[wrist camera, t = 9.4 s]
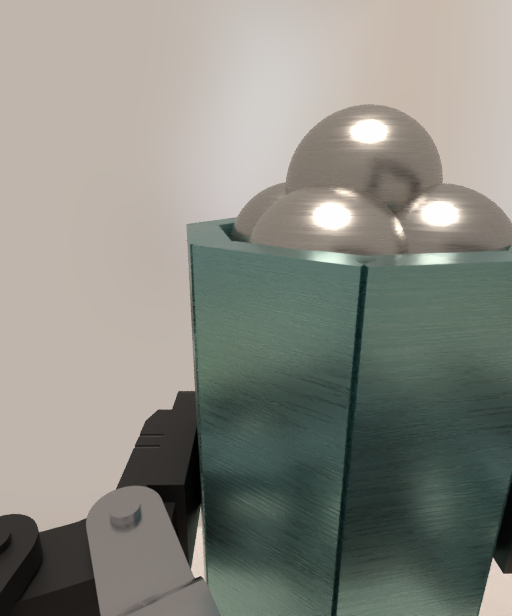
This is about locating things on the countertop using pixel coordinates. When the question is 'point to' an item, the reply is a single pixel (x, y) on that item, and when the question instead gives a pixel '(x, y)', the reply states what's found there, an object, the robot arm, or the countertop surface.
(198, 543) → the countertop surface
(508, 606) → the countertop surface
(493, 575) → the countertop surface
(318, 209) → the teal octagonal tall prism
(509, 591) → the countertop surface
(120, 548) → the robot arm
